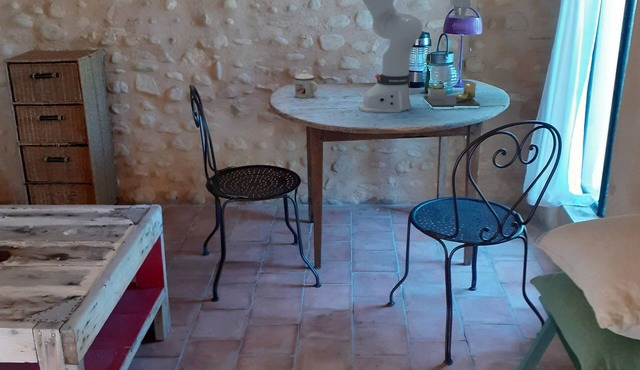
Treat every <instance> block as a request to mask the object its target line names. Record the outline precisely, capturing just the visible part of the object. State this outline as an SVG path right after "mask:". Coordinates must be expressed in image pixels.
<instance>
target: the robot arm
mask: <svg viewBox="0 0 640 370" xmlns="http://www.w3.org/2000/svg"><path fill="white" fill-rule="evenodd" d="M361 1H362V2H363V3H364V5H365V7H366V9H367V10H368V11H369V14H370V16H371V17H372V30H373V32H374V34H376V35H378V36H379V37H380V38H382V39H385V40H389V41H390V42H389V46H388V48H387V50H386V51H385V52H383V55H382V63H381V64H382V66H381V67H382V71H381V73H380V74H379V73H375V74H374V78H375V79H376V80H377V82H376V84H373V86H371V87H370V88H369V89H367V90H366V91H365V93H364V95H363V100H362V102H359V103H358V105H357V108H358V109H359V110H360V111H362V112H367V113H401V111H402V112H403V110H404V111H407V110H406V109H408V110H410V109H412V105H411V104H412V103H411V99H410V86H411V84H410V83H411V81H410V80H411V77H410V58H411V52H412V49H413V47H414V44H415V42H417V40H419V38H420V37H421V36H422V33H423V24H422V21H421V20H420V19H419V18H418V17H416V16H414V15H411V14H409V13H408V14H407V13H400V12H399V11H397V10H396V8H395V6H394V2H395V0H361ZM449 2H450V5H452V6H453V12H454V13H453V16H454V17H459V18H460V19H462V20H464V19H465V18H466V14H467V9H471V5H472V4H471V3H472V0H449ZM459 9H460V10H459ZM409 108H410V109H409Z"/></svg>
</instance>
